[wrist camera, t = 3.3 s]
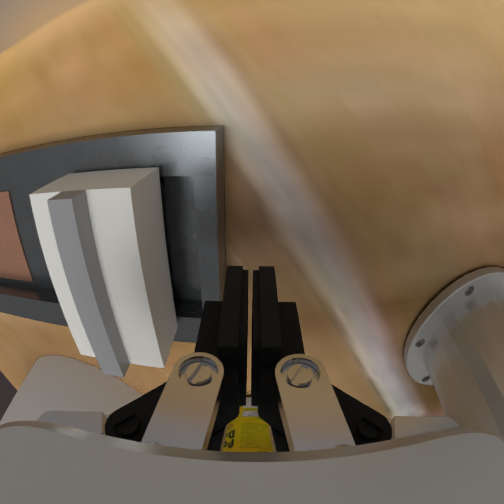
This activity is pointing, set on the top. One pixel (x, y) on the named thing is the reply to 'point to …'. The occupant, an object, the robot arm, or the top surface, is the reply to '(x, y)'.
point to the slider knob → (110, 264)
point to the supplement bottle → (248, 432)
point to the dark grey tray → (173, 203)
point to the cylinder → (67, 390)
